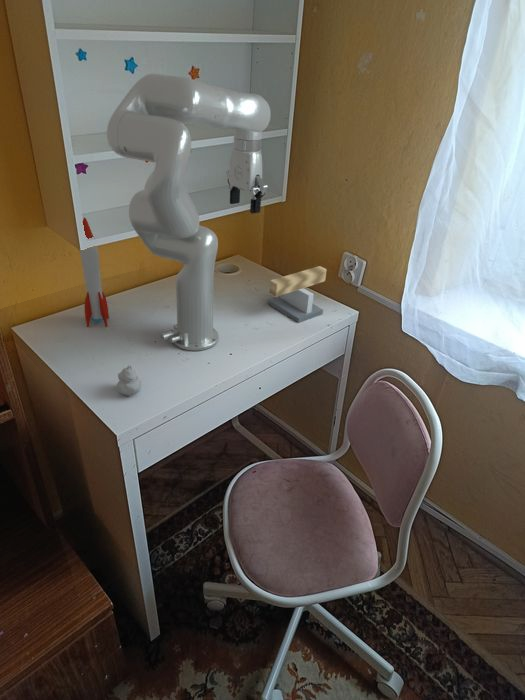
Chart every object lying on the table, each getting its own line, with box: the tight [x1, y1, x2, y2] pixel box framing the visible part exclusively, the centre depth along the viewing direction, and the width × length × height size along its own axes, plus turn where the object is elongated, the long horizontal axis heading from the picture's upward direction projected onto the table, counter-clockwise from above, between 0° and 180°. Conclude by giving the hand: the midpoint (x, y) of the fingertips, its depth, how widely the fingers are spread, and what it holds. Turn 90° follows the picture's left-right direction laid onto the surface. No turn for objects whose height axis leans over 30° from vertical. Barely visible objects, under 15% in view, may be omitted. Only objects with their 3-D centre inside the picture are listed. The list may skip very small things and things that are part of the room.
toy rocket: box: [79, 217, 110, 328], centre depth 132 cm, size 6×6×30 cm
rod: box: [269, 265, 327, 298], centre depth 149 cm, size 20×3×4 cm, turn 129°
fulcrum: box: [267, 288, 324, 324], centre depth 152 cm, size 10×14×8 cm
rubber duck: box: [116, 364, 142, 396], centre depth 113 cm, size 5×7×8 cm
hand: (244, 208), depth 144 cm, fingers open, 9 cm apart
